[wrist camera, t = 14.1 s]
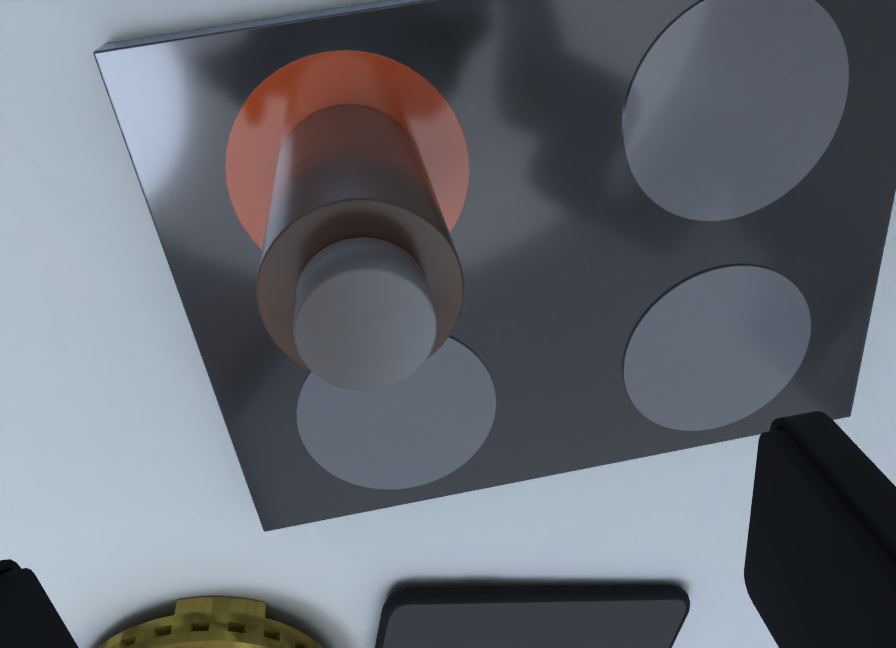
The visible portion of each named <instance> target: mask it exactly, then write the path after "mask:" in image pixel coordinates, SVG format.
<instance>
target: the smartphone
mask: <svg viewBox="0 0 896 648" xmlns="http://www.w3.org/2000/svg"><path fill="white" fill-rule="evenodd" d="M689 608H690V600H689V597H688V594H687V593H686V592H685V591H684V590H683V589H681V588H679V587H675V586H646V587H563V588H480V589H413V590H402V591H399V592H396V593H394V594H392V595H391V596H390V597H389V598H388V599H387V601H386V603H385V604H384V606H383V608H382V613H381V618H380V623H379V629H378V634H377V639H376V645H375V648H672V646H673V644H674V642H675V640H676V637H677V635H678V633H679V631H680V629H681V627H682V625H683V623H684V621H685V619H686V617H687V615H688V613H689Z"/></svg>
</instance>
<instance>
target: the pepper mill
mask: <svg viewBox="0 0 896 648" xmlns="http://www.w3.org/2000/svg"><path fill="white" fill-rule="evenodd" d="M464 290H465V289H464V276H463V271H462V266H461V263H460V260H459V257H458V255H457V252H456V249H455V247H454V244H453V241H452V238H451V236H450V233H449V230H448V227H447V225H446V222H445V219H444V216H443V214H442V211H441V208H440V206H439V203H438V200H437V197H436V195H435V192H434V189H433V186H432V184H431V181H430V178H429V176H428V173H427V170H426V167H425V165H424V162H423V159H422V156H421V154H420V151H419V149H418V147H417V145H416V143H415V141H414V140H413V138H412V137H411V135H410V134H409V133H408V131H407V130H406V129H405V128H404V127H403V126H402V125H401V124H399V123H398V122H397V121H396V120H395V119H393V118H391V117H390V116H388V115H387V114H385V113H382V112H380V111H378V110H375V109H372V108H369V107H364V106H358V105H340V106H334V107H330V108H326V109H323V110H320V111H318V112H316V113H314V114H312V115H310V116H308V117H307V118H306V119H304V120H303V121H302V122H300V123H299V124H298V125H297V126H296V127H295V128H294V129H293V130H292V132H291V133H290V134H289V135H288V137H287V138H286V140H285V142H284V144H283V145H282V148H281V150H280V153H279V156H278V160H277V164H276V170H275V176H274V182H273V188H272V194H271V200H270V206H269V212H268V218H267V224H266V230H265V235H264V241H263V247H262V253H261V259H260V265H259V271H258V277H257V288H256V293H257V304H258V309H259V313H260V316H261V319H262V322H263V324H264V326H265V328H266V330H267V332H268V334H269V335H270V337H271V338H272V340H273V341H274V342H275V344H276V345H277V346H278V347H279V348H280V349H281V350H282V351H283V352H284V353H285V354H286V355H287V356H288V357H289V358H291V359H292V360H293V361H295V362H296V363H297V364H299V365H301V366H302V367H304V368H306V369H308V370H310V371H312V372H313V373H314V374H316V375H317V376H318V377H319V378H321V379H323V380H324V381H326V382H328V383H330V384H332V385H334V386H338V387H341V388H344V389H349V390H358V391H368V390H377V389H382V388H386V387H389V386H392V385H394V384H397V383H399V382H401V381H403V380H404V379H406V378H408V377H409V376H411V375H412V374H413V373H414V372H415V371H417V370H418V369H419V368H420V367H421V365H422V364H423V363H424V362H425V360H427V359H428V358H429V357H430V356H431V355H433V354H434V353H435V352H436V351H437V350H438V349H439V348H440V347H441V346H442V345H443V344H444V342H445V341H446V340H447V338H448V337H449V335H450V334H451V332H452V330H453V329H454V327H455V325H456V323H457V321H458V318H459V316H460V313H461V309H462V305H463V301H464Z"/></svg>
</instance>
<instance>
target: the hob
mask: <svg viewBox="0 0 896 648" xmlns="http://www.w3.org/2000/svg"><path fill="white" fill-rule="evenodd" d="M93 54H94V57H95V59H96V62H97V65H98V68H99V71H100V73H101V76H102V79H103V82H104V85H105V87H106V90H107V93H108V96H109V99H110V102H111V104H112V107H113V110H114V113H115V116H116V118H117V121H118V124H119V127H120V130H121V132H122V135H123V138H124V141H125V144H126V146H127V149H128V152H129V155H130V158H131V160H132V163H133V166H134V169H135V172H136V174H137V177H138V180H139V183H140V186H141V188H142V191H143V194H144V197H145V200H146V202H147V205H148V208H149V211H150V214H151V216H152V219H153V222H154V225H155V228H156V230H157V233H158V236H159V239H160V242H161V244H162V247H163V250H164V253H165V256H166V258H167V261H168V264H169V267H170V270H171V272H172V275H173V278H174V281H175V284H176V286H177V289H178V292H179V295H180V298H181V300H182V303H183V306H184V309H185V312H186V314H187V317H188V320H189V323H190V326H191V328H192V331H193V334H194V337H195V340H196V342H197V345H198V348H199V351H200V354H201V356H202V359H203V362H204V365H205V368H206V370H207V373H208V376H209V379H210V382H211V384H212V387H213V390H214V393H215V396H216V398H217V401H218V404H219V407H220V410H221V412H222V415H223V418H224V421H225V424H226V426H227V429H228V432H229V435H230V438H231V440H232V443H233V446H234V449H235V452H236V454H237V457H238V460H239V463H240V466H241V468H242V471H243V474H244V477H245V480H246V482H247V485H248V488H249V491H250V494H251V496H252V499H253V502H254V505H255V508H256V510H257V513H258V516H259V519H260V522H261V525H262V527H263V530H264V531H270V530H275V529H280V528H285V527H290V526H296V525H301V524H306V523H311V522H316V521H321V520H326V519H331V518H336V517H341V516H346V515H352V514H357V513H362V512H367V511H372V510H377V509H382V508H387V507H392V506H397V505H402V504H408V503H413V502H418V501H423V500H428V499H433V498H438V497H443V496H448V495H453V494H458V493H463V492H469V491H474V490H479V489H484V488H489V487H494V486H499V485H504V484H509V483H514V482H519V481H525V480H530V479H535V478H540V477H545V476H550V475H555V474H560V473H565V472H570V471H575V470H581V469H586V468H591V467H596V466H601V465H606V464H611V463H616V462H621V461H626V460H631V459H636V458H642V457H647V456H652V455H657V454H662V453H667V452H672V451H677V450H682V449H687V448H692V447H698V446H703V445H708V444H713V443H718V442H723V441H728V440H733V439H738V438H743V437H748V436H754V435H759V434H762V433H764V432H768V431H770V427H771V423H772V422H773V421H774V419H777V418H781V417H787V416H792V415H798V414H803V413H809V412H814V411H821V412H824V413H825V414H827V415H828V416H829V417H830V418H831V419H832V420H835V419H840V418H845V417H850V416H851V411H852V406H853V401H854V396H855V391H856V386H857V381H858V376H859V371H860V366H861V361H862V356H863V351H864V346H865V341H866V336H867V331H868V326H869V321H870V316H871V311H872V306H873V301H874V296H875V291H876V286H877V281H878V276H879V271H880V266H881V261H882V256H883V251H884V246H885V241H886V236H887V231H888V226H889V221H890V216H891V211H892V206H893V201H894V196H895V191H896V0H384V1H378V2H371V3H365V4H358V5H352V6H346V7H339V8H333V9H326V10H320V11H313V12H307V13H300V14H294V15H288V16H281V17H275V18H268V19H262V20H255V21H249V22H242V23H236V24H230V25H223V26H217V27H210V28H204V29H197V30H191V31H184V32H178V33H172V34H165V35H159V36H152V37H146V38H139V39H133V40H126V41H120V42H114V43H107V44H104V45H103V46H101V47H100V48H99V49H97V50H96V51H94V53H93ZM340 105H358V106H364V107H369V108H372V109H375V110H378V111H380V112H382V113H385V114H387V115H388V116H390V117H391V118H393V119H395V120H396V121H397V122H398V123H399V124H401V125H402V126H403V127H404V128H405V129H406V130H407V131H408V133H409V134H410V135H411V137H412V138H413V140H414V141H415V143H416V145H417V147H418V149H419V151H420V154H421V156H422V159H423V162H424V165H425V167H426V170H427V173H428V176H429V178H430V181H431V184H432V186H433V189H434V192H435V195H436V197H437V200H438V203H439V206H440V208H441V211H442V214H443V216H444V219H445V222H446V225H447V227H448V230H449V233H450V236H451V238H452V241H453V244H454V247H455V249H456V252H457V255H458V257H459V260H460V263H461V266H462V271H463V276H464V289H465V290H464V301H463V305H462V309H461V313H460V316H459V318H458V321H457V323H456V325H455V327H454V329H453V330H452V332H451V334H450V335H449V337H448V338H447V340H446V341H445V342H444V344H443V345H442V346H441V347H440V348H439V349H438V350H437V351H436V352H435V353H434V354H433V355H431V356H430V357H429V358H428V359H427V360H425V362H424V363H423V364H422V365H421V367H420V368H419V369H418V370H417V371H415V372H414V373H413V374H412V375H411V376H409V377H408V378H406V379H404V380H403V381H401V382H399V383H397V384H394V385H392V386H389V387H386V388H382V389H377V390H368V391H358V390H349V389H344V388H341V387H338V386H334V385H332V384H330V383H328V382H326V381H324V380H323V379H321V378H319V377H318V376H317V375H316V374H314V373H313V372H312V371H310V370H308V369H306V368H304V367H302V366H301V365H299V364H297V363H296V362H295V361H293V360H292V359H291V358H289V357H288V356H287V355H286V354H285V353H284V352H283V351H282V350H281V349H280V348H279V347H278V346H277V345H276V344H275V342H274V341H273V340H272V338H271V337H270V335H269V334H268V332H267V330H266V328H265V326H264V324H263V322H262V319H261V316H260V313H259V309H258V304H257V293H256V288H257V277H258V271H259V265H260V259H261V253H262V247H263V241H264V235H265V230H266V224H267V218H268V212H269V206H270V200H271V194H272V188H273V182H274V176H275V170H276V164H277V160H278V156H279V153H280V150H281V148H282V145H283V144H284V142H285V140H286V138H287V137H288V135H289V134H290V133H291V132H292V130H293V129H294V128H295V127H296V126H297V125H298V124H299V123H300V122H302V121H303V120H304V119H306V118H307V117H308V116H310V115H312V114H314V113H316V112H318V111H320V110H323V109H326V108H330V107H334V106H340Z"/></svg>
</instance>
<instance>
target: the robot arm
mask: <svg viewBox="0 0 896 648" xmlns="http://www.w3.org/2000/svg"><path fill="white" fill-rule="evenodd" d="M744 579H745V584H746V588H747V591H748V594H749V596H750V598H751V600H752V602H753V604H754V606H755V607H756V609H757V611H758V613H759V614H760V616H761V618H762V619H763V621H764V623H765V624H766V626H767V628H768V630H769V631H770V633H771V635H772V636H773V638H774V640H775V642H776V643H777V645H778V647H779V648H896V487H895V486H894V484H893V483H892V482H891V481H890V480H889V479H888V478H887V477H886V476H885V475H884V474H883V473H882V472H881V471H880V470H879V469H878V468H877V466H876V465H875V464H874V463H873V462H872V461H871V460H870V459H869V458H868V457H867V456H866V455H865V454H864V453H863V452H862V451H861V449H860V448H859V447H858V446H857V445H856V444H855V443H854V442H853V441H852V440H851V439H850V438H849V437H848V436H847V435H846V434H845V432H844V431H843V430H842V429H841V428H840V427H839V426H838V425H837V424H836V423H835V422H834V421H833V420H832V419H831V418H830V417H829V416H828V415H827V414H825V413H824V412H821V411H814V412H809V413H803V414H798V415H792V416H787V417H781V418H777V419H774V421H773V422H772V423H771V427H770V431H768V432H764V433H762V434H761V435H760V438H759V444H758V452H757V461H756V470H755V479H754V488H753V497H752V505H751V514H750V523H749V532H748V541H747V549H746V558H745V567H744ZM0 648H78V646H77V644H76V643H75V641H74V639H73V638H72V636H71V634H70V632H69V631H68V629H67V627H66V626H65V624H64V622H63V621H62V619H61V617H60V616H59V614H58V612H57V611H56V609H55V607H54V606H53V604H52V602H51V601H50V599H49V597H48V596H47V594H46V592H45V591H44V589H43V587H42V586H41V584H40V582H39V581H38V579H37V577H36V575H35V574H34V573H33V572H32V570H30V569H28V568H24V569H21V568H20V566H19V565H18V564H17V563H16V562H15V561H12V560H10V559H9V560H1V561H0Z"/></svg>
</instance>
